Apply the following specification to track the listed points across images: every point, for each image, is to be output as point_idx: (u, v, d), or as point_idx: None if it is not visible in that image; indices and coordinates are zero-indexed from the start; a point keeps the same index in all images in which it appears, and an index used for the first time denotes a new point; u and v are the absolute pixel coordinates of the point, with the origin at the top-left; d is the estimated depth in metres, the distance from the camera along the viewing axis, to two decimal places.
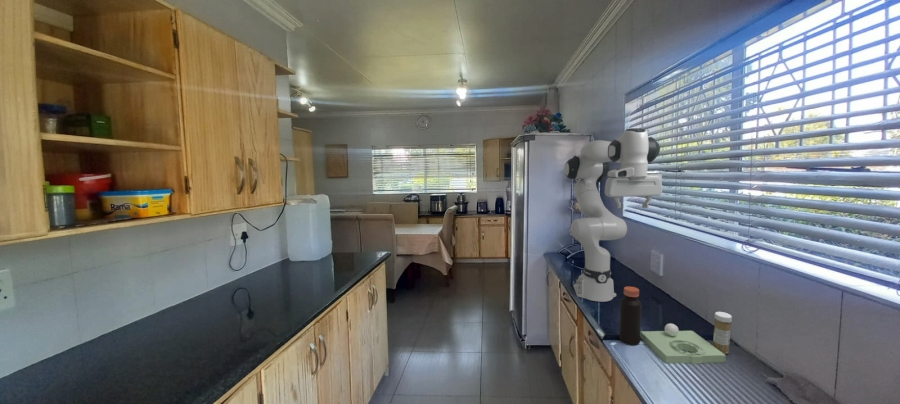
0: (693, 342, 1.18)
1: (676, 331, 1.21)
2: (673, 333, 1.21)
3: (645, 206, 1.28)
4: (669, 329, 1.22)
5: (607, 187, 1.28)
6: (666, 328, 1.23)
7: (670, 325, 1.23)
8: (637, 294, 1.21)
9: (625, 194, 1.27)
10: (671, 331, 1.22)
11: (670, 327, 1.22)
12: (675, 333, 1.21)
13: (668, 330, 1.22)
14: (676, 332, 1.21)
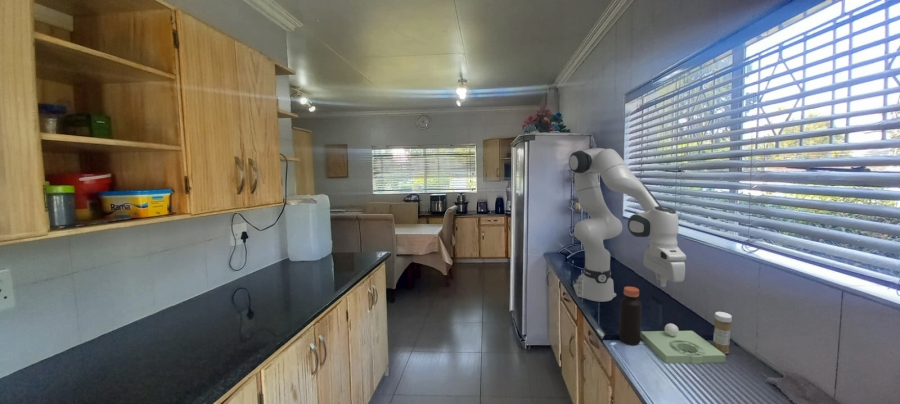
0: (693, 342, 1.18)
1: (676, 331, 1.21)
2: (673, 333, 1.21)
3: None
4: (669, 329, 1.22)
5: (681, 272, 1.18)
6: (666, 328, 1.23)
7: (670, 325, 1.23)
8: (637, 294, 1.21)
9: None
10: (671, 331, 1.22)
11: (670, 327, 1.22)
12: (675, 333, 1.21)
13: (668, 330, 1.22)
14: (676, 332, 1.21)
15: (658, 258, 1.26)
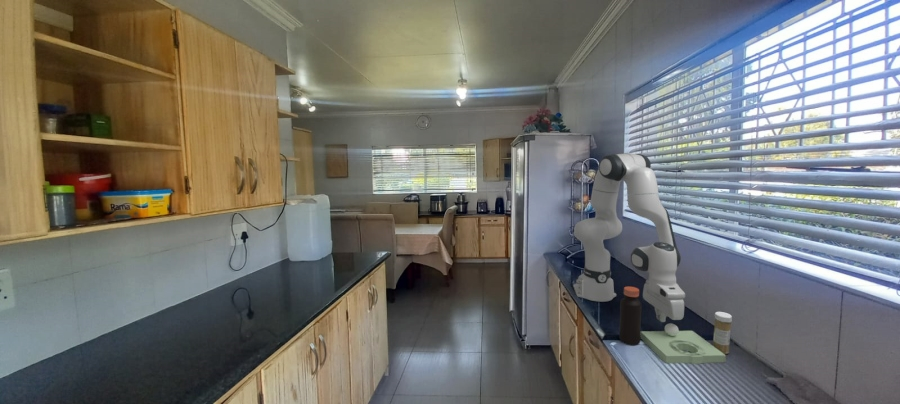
0: (693, 342, 1.18)
1: (676, 331, 1.21)
2: (673, 333, 1.21)
3: None
4: (669, 329, 1.22)
5: (680, 310, 1.20)
6: (666, 328, 1.23)
7: (670, 325, 1.23)
8: (637, 294, 1.21)
9: None
10: (671, 331, 1.22)
11: (670, 327, 1.22)
12: (675, 333, 1.21)
13: (668, 330, 1.22)
14: (676, 332, 1.21)
15: (657, 294, 1.28)
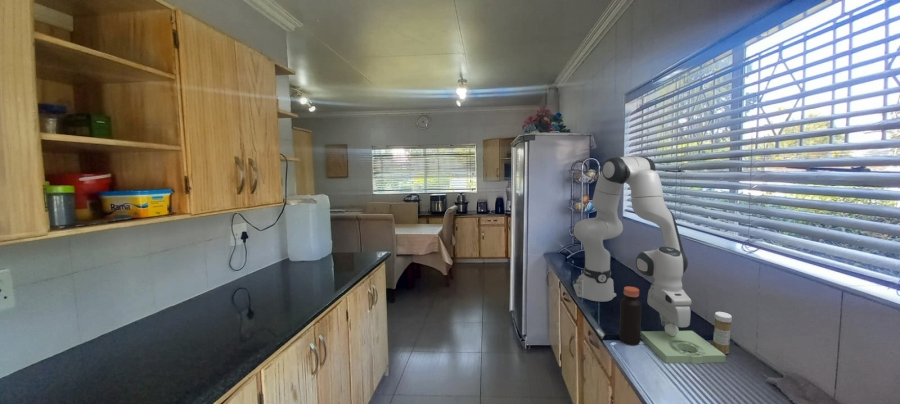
0: (693, 342, 1.18)
1: (676, 331, 1.21)
2: (673, 333, 1.21)
3: None
4: (669, 329, 1.22)
5: (686, 317, 1.16)
6: (666, 328, 1.23)
7: (670, 325, 1.23)
8: (637, 294, 1.21)
9: None
10: (671, 331, 1.22)
11: (670, 327, 1.22)
12: (675, 333, 1.21)
13: (668, 330, 1.22)
14: (676, 332, 1.21)
15: (663, 300, 1.24)
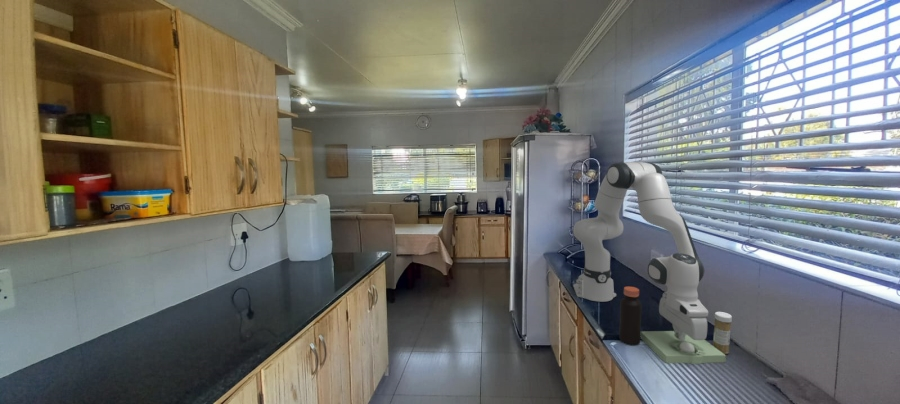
0: (693, 342, 1.18)
1: (686, 342, 1.16)
2: (685, 342, 1.15)
3: None
4: (680, 344, 1.16)
5: (702, 330, 1.08)
6: (679, 348, 1.16)
7: None
8: (637, 294, 1.21)
9: None
10: (682, 343, 1.16)
11: None
12: (686, 342, 1.15)
13: (680, 345, 1.16)
14: (687, 342, 1.16)
15: (676, 310, 1.16)
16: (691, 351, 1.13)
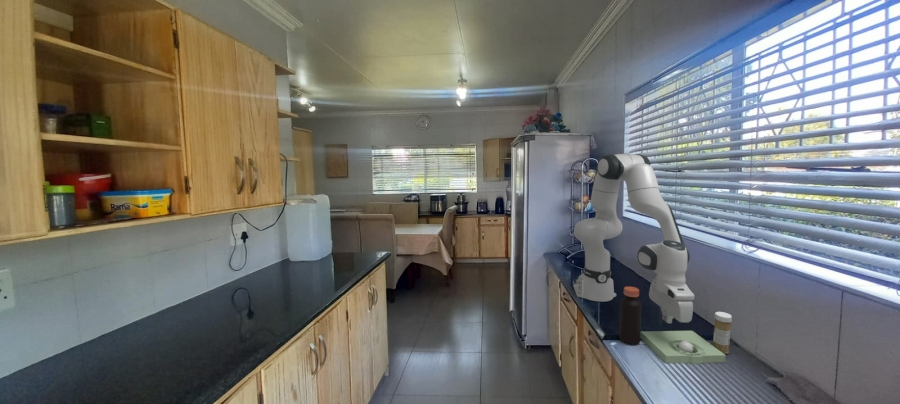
0: (693, 342, 1.18)
1: None
2: (682, 341, 1.17)
3: None
4: (678, 344, 1.17)
5: (688, 313, 1.14)
6: (678, 347, 1.17)
7: None
8: (637, 294, 1.21)
9: None
10: None
11: None
12: (684, 341, 1.17)
13: (678, 345, 1.17)
14: None
15: (665, 294, 1.22)
16: (689, 347, 1.14)
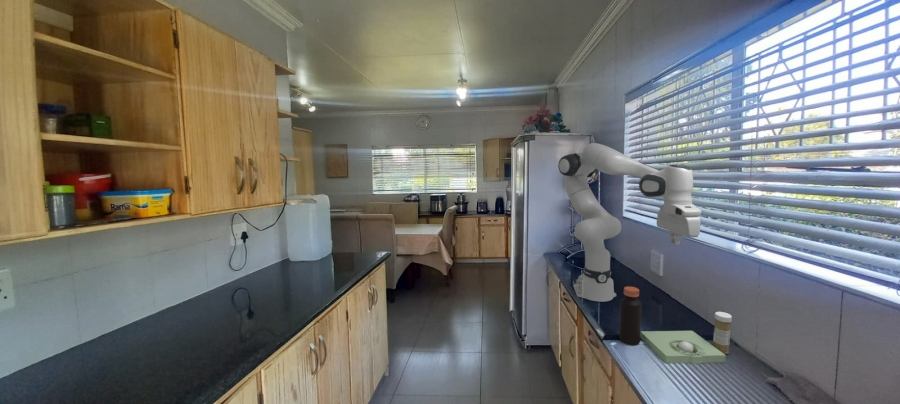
0: (693, 342, 1.18)
1: None
2: (683, 341, 1.16)
3: None
4: None
5: (696, 227, 1.19)
6: (678, 347, 1.17)
7: None
8: (637, 294, 1.21)
9: None
10: (680, 342, 1.17)
11: None
12: (684, 341, 1.17)
13: (678, 345, 1.17)
14: None
15: (672, 215, 1.26)
16: (690, 348, 1.14)
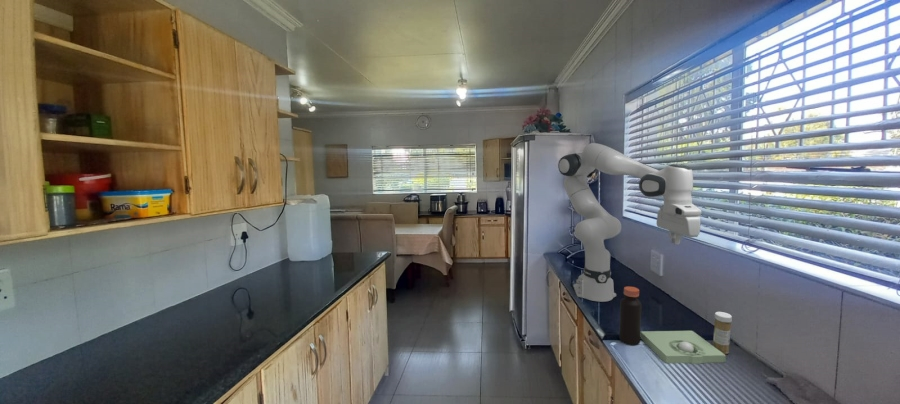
0: (693, 342, 1.18)
1: None
2: (683, 341, 1.16)
3: None
4: None
5: (696, 227, 1.19)
6: (678, 347, 1.16)
7: None
8: (637, 294, 1.21)
9: None
10: None
11: None
12: None
13: (679, 345, 1.17)
14: None
15: (672, 215, 1.26)
16: (690, 349, 1.14)
